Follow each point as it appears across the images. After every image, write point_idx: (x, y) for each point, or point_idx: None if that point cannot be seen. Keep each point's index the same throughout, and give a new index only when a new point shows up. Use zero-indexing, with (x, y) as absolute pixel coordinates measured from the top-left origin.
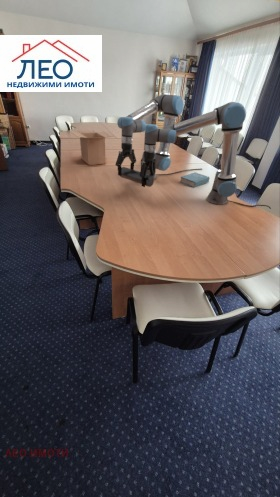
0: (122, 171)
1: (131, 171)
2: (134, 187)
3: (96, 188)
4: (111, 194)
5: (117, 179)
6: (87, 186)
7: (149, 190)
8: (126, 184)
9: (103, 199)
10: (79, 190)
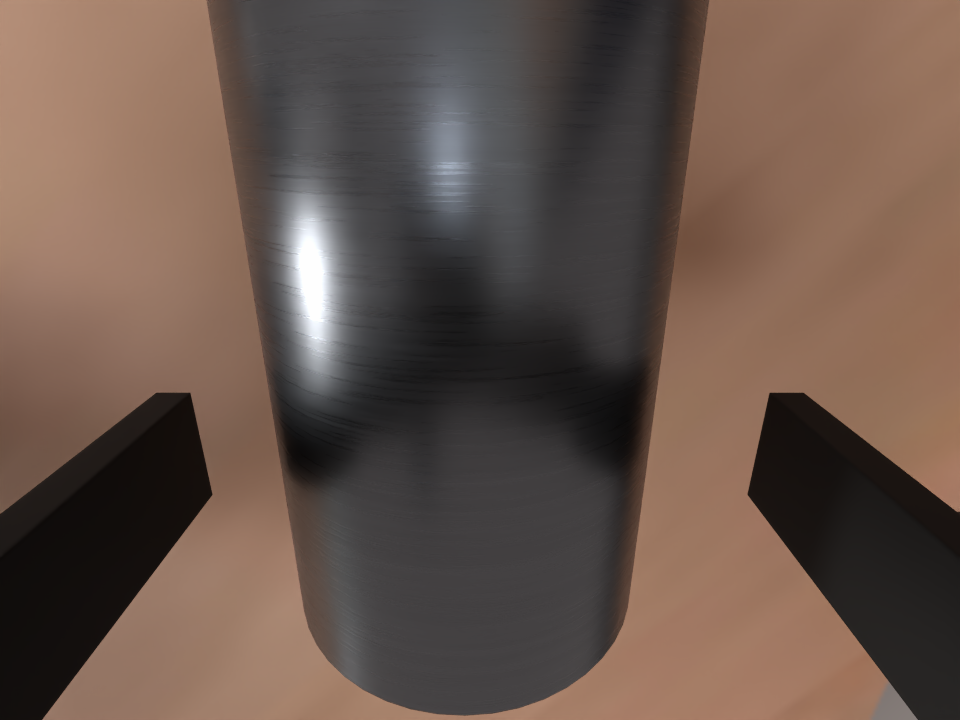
0: (636, 524)
1: (620, 113)
2: (214, 319)
3: (667, 612)
4: (701, 366)
5: (229, 656)
6: (688, 701)
7: (52, 22)
8: (242, 476)
9: (924, 318)
10: (842, 675)
